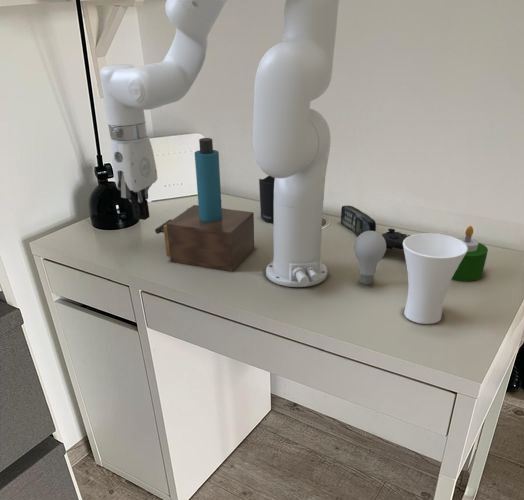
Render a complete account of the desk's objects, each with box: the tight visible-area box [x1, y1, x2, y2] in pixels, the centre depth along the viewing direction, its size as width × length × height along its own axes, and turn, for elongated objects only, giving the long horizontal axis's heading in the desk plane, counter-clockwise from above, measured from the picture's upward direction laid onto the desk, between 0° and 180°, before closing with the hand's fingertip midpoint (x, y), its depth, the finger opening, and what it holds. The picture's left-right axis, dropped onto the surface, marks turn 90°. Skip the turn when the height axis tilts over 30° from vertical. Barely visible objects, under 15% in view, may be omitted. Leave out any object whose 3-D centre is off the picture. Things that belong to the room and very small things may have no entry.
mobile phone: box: [340, 205, 377, 237], centre depth 130 cm, size 5×3×15 cm
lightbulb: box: [353, 231, 387, 286], centre depth 106 cm, size 6×6×11 cm
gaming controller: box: [381, 228, 412, 251], centre depth 118 cm, size 14×6×10 cm
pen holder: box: [258, 175, 275, 224], centre depth 138 cm, size 9×9×10 cm
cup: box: [403, 232, 468, 325], centre depth 95 cm, size 10×10×14 cm
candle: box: [451, 225, 489, 282], centre depth 110 cm, size 8×8×10 cm
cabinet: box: [167, 204, 255, 272], centre depth 119 cm, size 15×13×9 cm
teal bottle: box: [194, 137, 223, 222], centre depth 112 cm, size 5×5×16 cm
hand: (141, 217), depth 123 cm, fingers closed
